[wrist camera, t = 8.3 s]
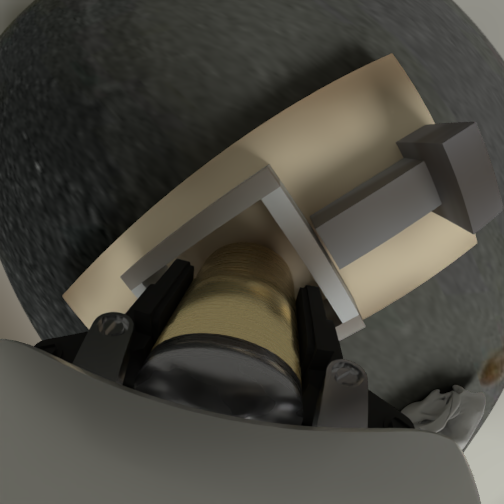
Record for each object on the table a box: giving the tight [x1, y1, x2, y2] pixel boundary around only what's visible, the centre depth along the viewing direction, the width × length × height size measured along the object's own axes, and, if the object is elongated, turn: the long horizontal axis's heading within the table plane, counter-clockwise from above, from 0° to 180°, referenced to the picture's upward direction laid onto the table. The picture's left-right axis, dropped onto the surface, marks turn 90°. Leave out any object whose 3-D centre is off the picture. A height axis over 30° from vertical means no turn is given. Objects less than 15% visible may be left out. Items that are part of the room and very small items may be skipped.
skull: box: [401, 385, 486, 450], centre depth 16 cm, size 8×9×12 cm
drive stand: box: [62, 54, 504, 341], centre depth 12 cm, size 11×24×6 cm, turn 125°
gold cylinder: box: [134, 242, 303, 426], centre depth 9 cm, size 4×4×7 cm
